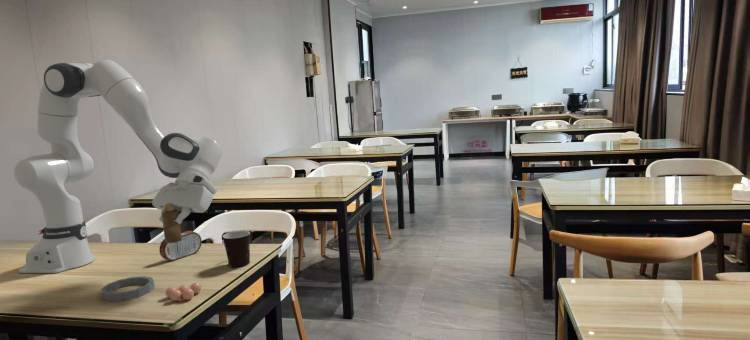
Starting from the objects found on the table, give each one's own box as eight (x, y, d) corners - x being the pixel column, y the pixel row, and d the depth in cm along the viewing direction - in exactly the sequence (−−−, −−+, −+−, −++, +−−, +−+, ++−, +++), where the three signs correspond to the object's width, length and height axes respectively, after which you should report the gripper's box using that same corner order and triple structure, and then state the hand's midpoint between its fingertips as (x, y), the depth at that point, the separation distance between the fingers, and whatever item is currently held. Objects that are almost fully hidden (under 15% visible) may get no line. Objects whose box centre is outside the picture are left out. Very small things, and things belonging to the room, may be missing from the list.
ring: (92, 302, 135) (91, 295, 134) (116, 284, 148) (115, 278, 147) (142, 299, 135) (141, 292, 135) (161, 281, 148) (160, 274, 148)
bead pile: (160, 304, 131) (159, 293, 130) (171, 293, 138) (169, 282, 138) (194, 301, 131) (193, 290, 130) (203, 290, 138) (202, 280, 138)
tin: (199, 250, 178) (196, 227, 177) (204, 251, 176) (201, 228, 175) (160, 263, 166) (157, 239, 165) (165, 264, 164) (162, 240, 163)
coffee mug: (245, 269, 154) (242, 238, 153) (220, 268, 156) (217, 238, 155) (261, 256, 166) (258, 228, 164) (238, 256, 167) (234, 228, 166)
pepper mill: (162, 243, 144) (157, 205, 143) (168, 239, 149) (164, 202, 147) (178, 242, 144) (173, 204, 143) (183, 238, 149) (179, 201, 147)
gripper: (160, 177, 155) (137, 214, 148) (209, 178, 146) (187, 218, 139) (173, 188, 159) (152, 225, 152) (221, 190, 150) (201, 229, 143)
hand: (169, 222), depth 145 cm, fingers closed on pepper mill, 5 cm apart
